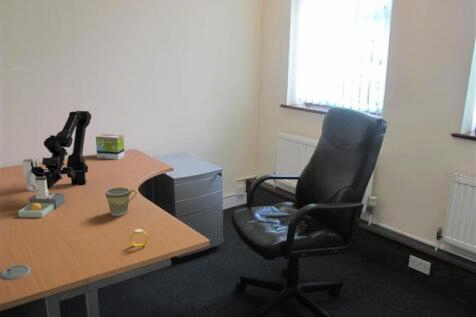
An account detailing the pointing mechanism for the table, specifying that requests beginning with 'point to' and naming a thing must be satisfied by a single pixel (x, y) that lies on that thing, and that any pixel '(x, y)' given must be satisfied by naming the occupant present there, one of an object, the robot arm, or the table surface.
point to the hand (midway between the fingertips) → (48, 188)
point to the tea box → (110, 146)
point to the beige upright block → (41, 188)
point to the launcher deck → (50, 199)
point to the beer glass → (30, 173)
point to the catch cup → (29, 213)
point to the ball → (36, 207)
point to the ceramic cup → (118, 200)
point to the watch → (138, 233)
